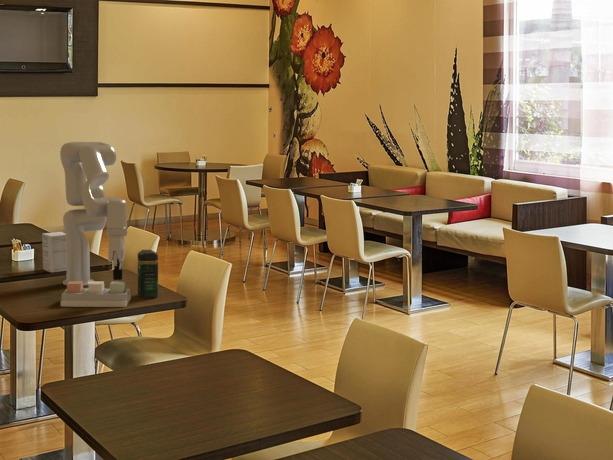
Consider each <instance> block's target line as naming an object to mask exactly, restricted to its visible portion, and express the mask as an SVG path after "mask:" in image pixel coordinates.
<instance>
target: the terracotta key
mask: <svg viewBox="0 0 613 460" xmlns="http://www.w3.org/2000/svg"><path fill="white" fill-rule="evenodd" d="M83 288H84V286H83V281H69V282H68V283H67V285H66V289H67V293H81V292H82V291H83Z"/></svg>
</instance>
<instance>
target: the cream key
mask: <svg viewBox="0 0 613 460" xmlns="http://www.w3.org/2000/svg"><path fill="white" fill-rule="evenodd" d="M87 286H88V287H87V288H88V293H102V292H103V291H104V288H105V281H104V280H103V281H95V280H94V281H91V282H90V283H89V284H88V285H87Z"/></svg>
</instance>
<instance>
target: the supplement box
mask: <svg viewBox="0 0 613 460" xmlns="http://www.w3.org/2000/svg"><path fill="white" fill-rule="evenodd" d="M41 238H42V239H41V241H42V242H41V244H42V248H41V249H42V269H43V270H44V271H46V272H47V273H59V272H60V273H61V272H67V267H66V235H65V232H63V231H55V232H46V233H45V232H43V233H42V234H41Z"/></svg>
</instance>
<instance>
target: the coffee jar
mask: <svg viewBox="0 0 613 460" xmlns="http://www.w3.org/2000/svg"><path fill="white" fill-rule="evenodd" d="M137 296H138V297H139V298H145V299H153V298H157V297H158V296H159V253H157V252H156V251H154V250H152V249H141V250H140V251H138V252H137Z"/></svg>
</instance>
